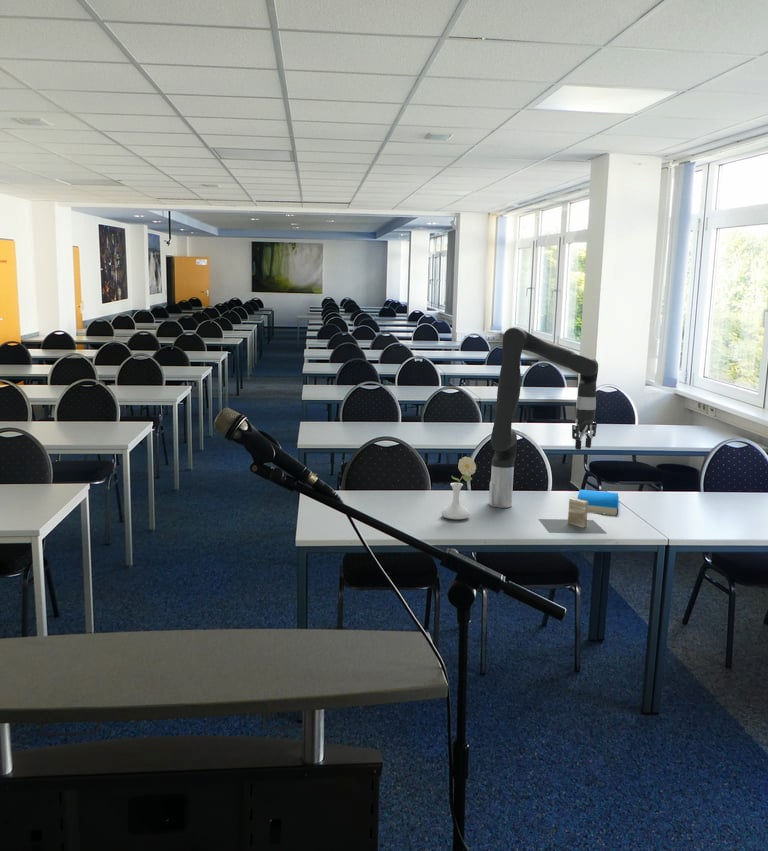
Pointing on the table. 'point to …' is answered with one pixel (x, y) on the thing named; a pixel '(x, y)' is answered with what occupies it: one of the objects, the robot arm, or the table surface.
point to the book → (600, 501)
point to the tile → (578, 512)
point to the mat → (570, 526)
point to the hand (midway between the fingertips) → (583, 448)
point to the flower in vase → (455, 507)
